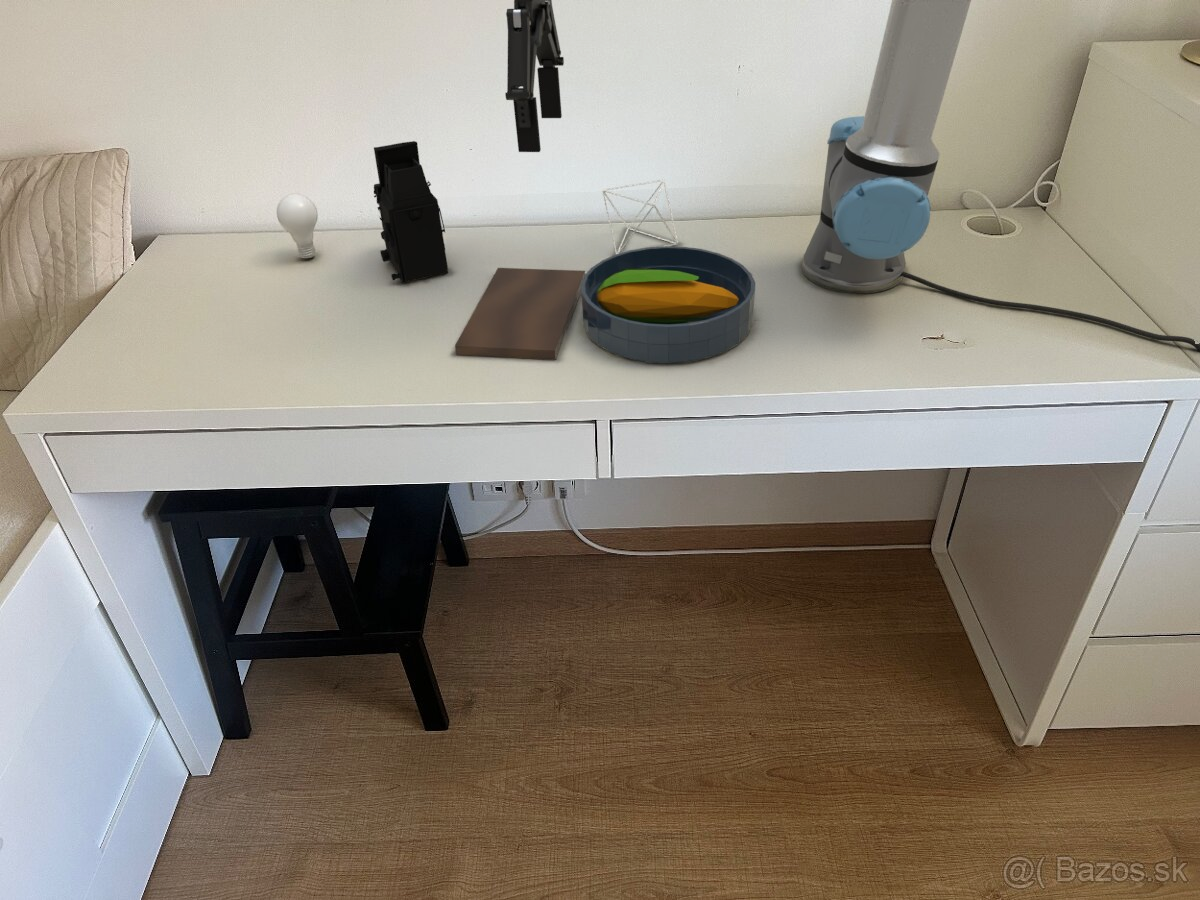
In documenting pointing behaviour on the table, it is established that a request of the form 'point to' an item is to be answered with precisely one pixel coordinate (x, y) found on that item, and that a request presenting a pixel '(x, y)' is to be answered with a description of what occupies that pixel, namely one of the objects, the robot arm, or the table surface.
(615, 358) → the table surface
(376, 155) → the camera
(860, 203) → the robot arm
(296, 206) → the lightbulb
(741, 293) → the bowl
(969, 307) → the table surface
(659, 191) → the geometric polyhedron
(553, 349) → the walnut board
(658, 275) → the corn
